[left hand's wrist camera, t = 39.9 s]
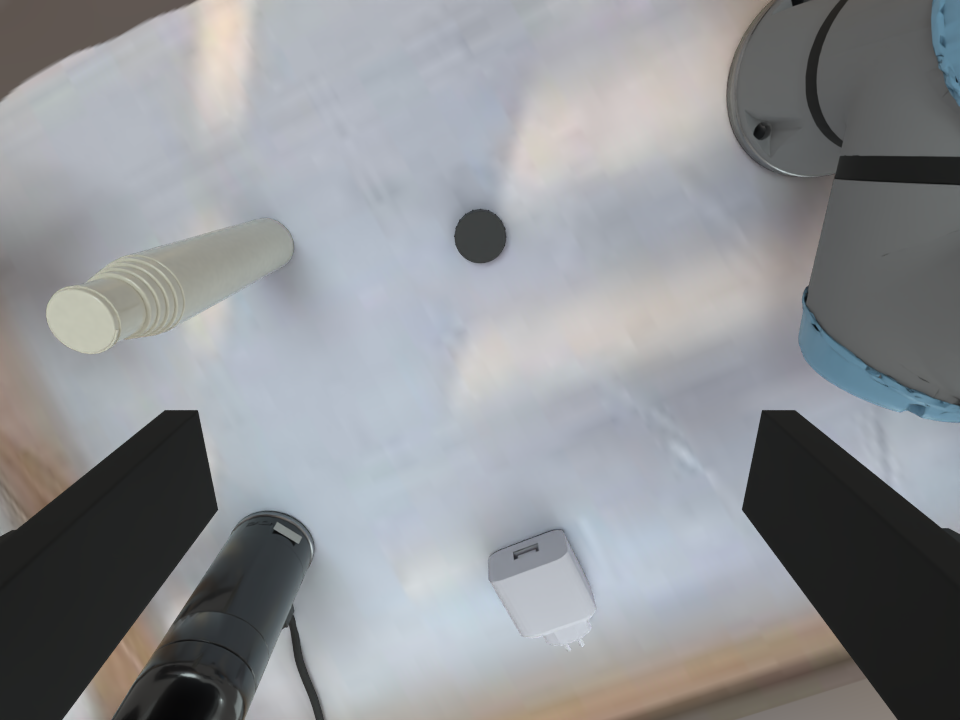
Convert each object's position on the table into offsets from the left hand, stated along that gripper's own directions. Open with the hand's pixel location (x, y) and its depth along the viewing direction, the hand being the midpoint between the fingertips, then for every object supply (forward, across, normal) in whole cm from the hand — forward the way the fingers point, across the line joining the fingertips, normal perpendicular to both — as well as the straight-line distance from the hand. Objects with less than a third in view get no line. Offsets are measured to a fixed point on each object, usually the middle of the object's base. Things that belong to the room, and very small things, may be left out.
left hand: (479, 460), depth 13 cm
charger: (+40, -8, +41) cm, 58 cm away
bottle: (+40, +20, +1) cm, 44 cm away
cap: (+38, 0, 0) cm, 38 cm away
